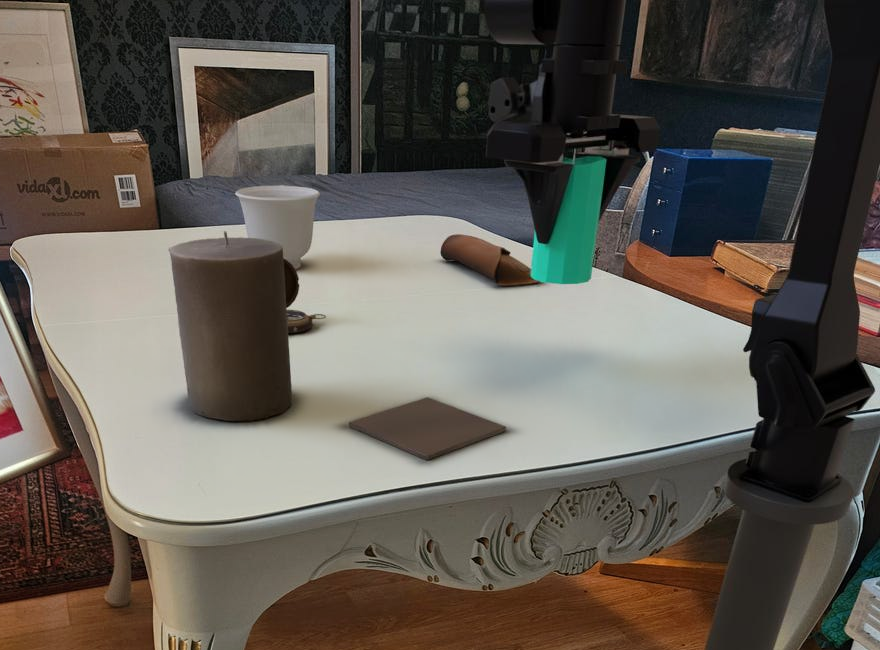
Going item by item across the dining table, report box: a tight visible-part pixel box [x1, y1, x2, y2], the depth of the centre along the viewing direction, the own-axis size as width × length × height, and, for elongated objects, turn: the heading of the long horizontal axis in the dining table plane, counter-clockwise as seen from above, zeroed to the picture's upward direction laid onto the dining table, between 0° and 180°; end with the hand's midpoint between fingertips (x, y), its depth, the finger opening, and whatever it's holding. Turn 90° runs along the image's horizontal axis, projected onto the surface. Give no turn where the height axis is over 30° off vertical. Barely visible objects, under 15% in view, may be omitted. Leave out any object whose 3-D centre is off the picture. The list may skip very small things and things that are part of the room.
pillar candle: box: [167, 230, 293, 422], centre depth 77 cm, size 10×10×15 cm
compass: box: [283, 258, 327, 334], centre depth 101 cm, size 8×8×7 cm
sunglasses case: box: [439, 233, 541, 287], centre depth 128 cm, size 18×7×7 cm
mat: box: [348, 397, 507, 461], centre depth 77 cm, size 10×10×1 cm
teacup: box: [234, 184, 321, 270], centre depth 127 cm, size 12×15×10 cm
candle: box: [530, 149, 607, 285], centre depth 83 cm, size 6×6×12 cm
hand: (564, 239), depth 84 cm, fingers closed on candle, 6 cm apart
